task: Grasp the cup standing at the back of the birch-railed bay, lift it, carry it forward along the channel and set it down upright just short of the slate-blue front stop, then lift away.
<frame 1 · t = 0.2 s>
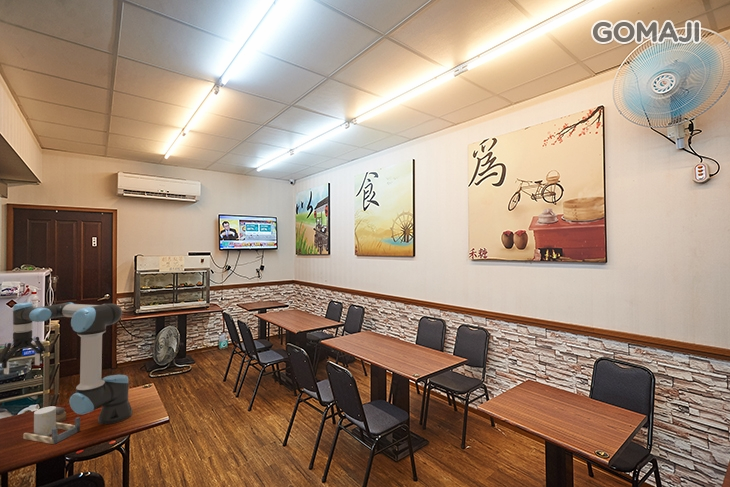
hand: (22, 369, 184), 28 cm above the table, fingers open, 13 cm apart
winch: (58, 420, 182), on the table
cup: (44, 433, 170), on the table
bay: (52, 434, 169), on the table
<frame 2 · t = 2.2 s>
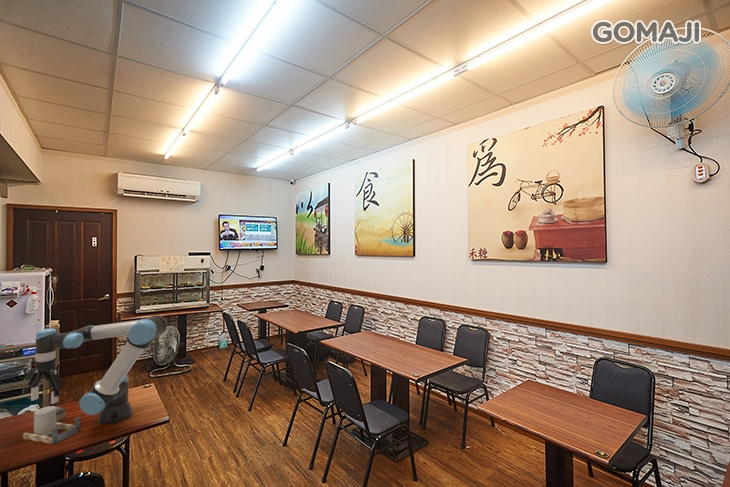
hand: (44, 401, 170), 17 cm above the table, fingers open, 13 cm apart
nothing on the table moved.
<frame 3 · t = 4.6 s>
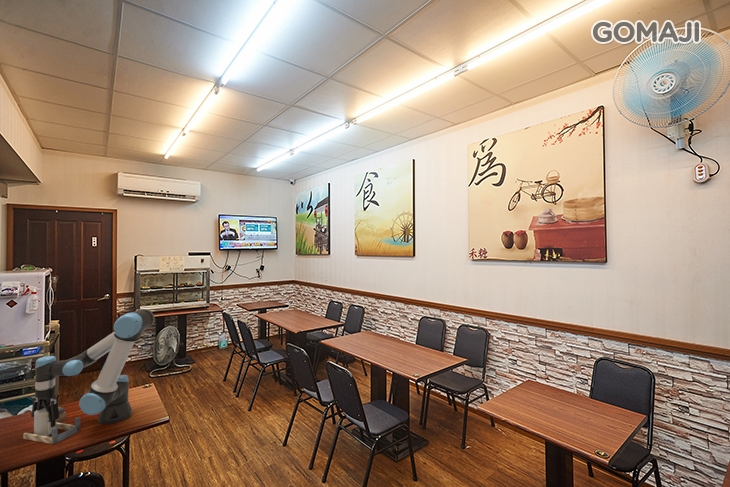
hand: (45, 431, 170), 1 cm above the table, fingers closed on cup, 8 cm apart
cup: (45, 433, 170), on the table, touching gripper
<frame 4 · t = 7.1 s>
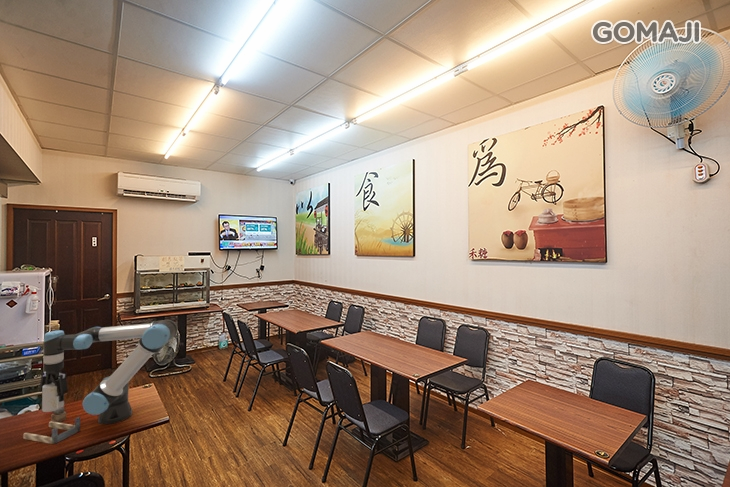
hand: (53, 406, 169), 14 cm above the table, fingers closed on cup, 8 cm apart
cup: (53, 408, 169), point 13 cm above the table, touching gripper
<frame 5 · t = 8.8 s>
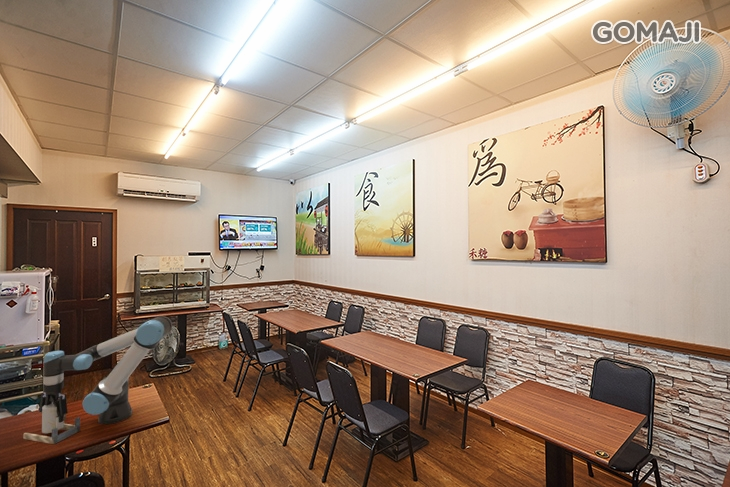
hand: (53, 427, 169), 4 cm above the table, fingers closed on cup, 8 cm apart
cup: (52, 429, 169), point 3 cm above the table, touching gripper
when the fingers open (3 cm above the table, at t = 9.8 s): cup drops 2 cm, on the table.
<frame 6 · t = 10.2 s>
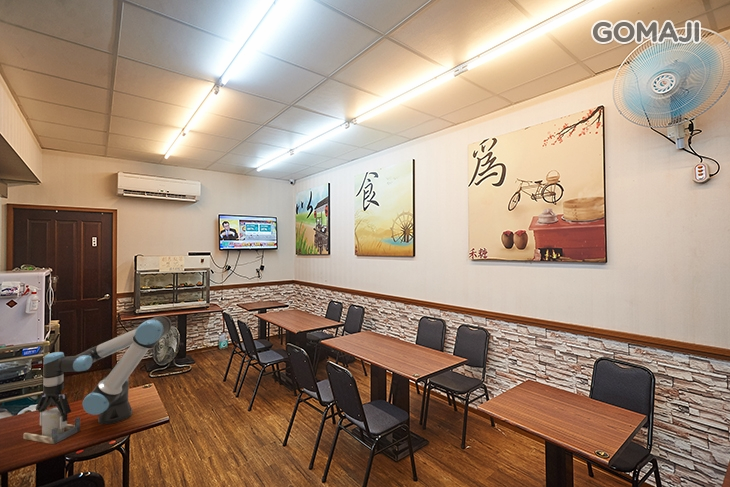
hand: (53, 425, 169), 5 cm above the table, fingers open, 13 cm apart
cup: (53, 435, 169), on the table
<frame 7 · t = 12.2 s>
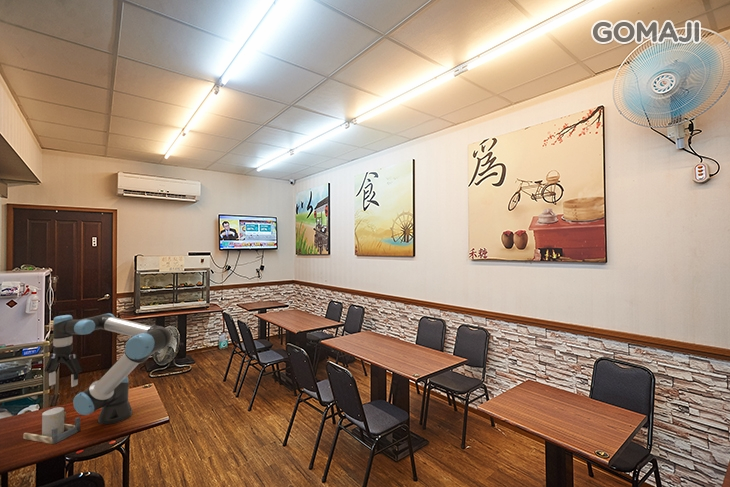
hand: (63, 385, 175), 23 cm above the table, fingers open, 13 cm apart
nothing on the table moved.
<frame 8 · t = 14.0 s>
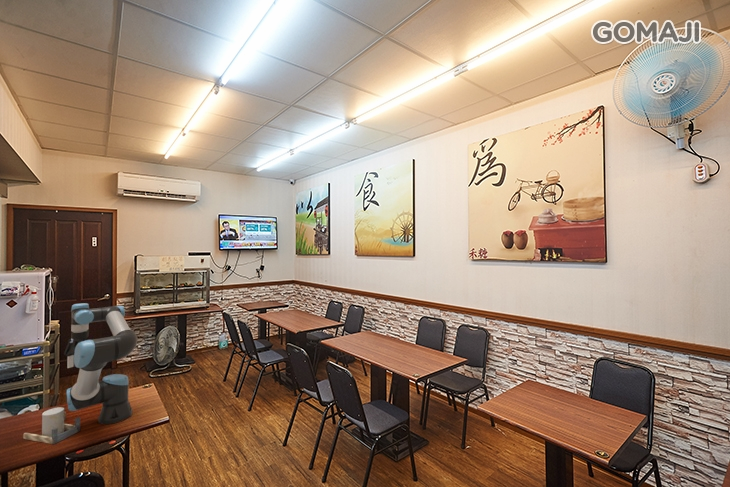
hand: (79, 368, 188), 27 cm above the table, fingers open, 13 cm apart
nothing on the table moved.
at the end: cup inside the target area (2.0 cm from its centre), on the table; cup tilted 0°; the gripper is holding nothing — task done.
